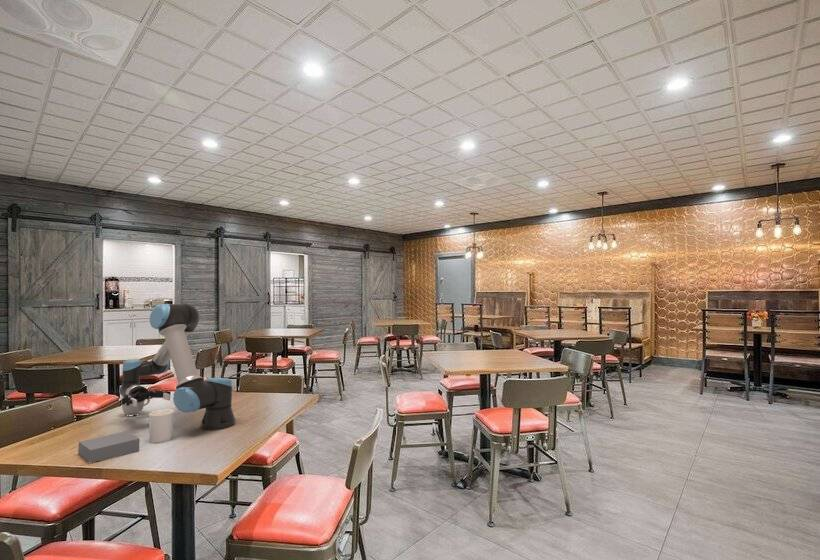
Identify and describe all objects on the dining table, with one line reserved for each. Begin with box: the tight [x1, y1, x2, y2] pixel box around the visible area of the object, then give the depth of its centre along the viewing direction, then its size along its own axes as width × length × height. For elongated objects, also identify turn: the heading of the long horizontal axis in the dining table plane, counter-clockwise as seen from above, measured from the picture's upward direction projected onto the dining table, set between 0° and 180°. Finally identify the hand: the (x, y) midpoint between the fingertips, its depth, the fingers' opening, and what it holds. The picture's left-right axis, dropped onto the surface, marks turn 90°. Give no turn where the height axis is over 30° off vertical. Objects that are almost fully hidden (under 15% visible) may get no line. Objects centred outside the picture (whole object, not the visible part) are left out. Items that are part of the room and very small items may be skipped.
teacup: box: [119, 396, 151, 417], centre depth 215 cm, size 12×15×10 cm
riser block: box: [77, 431, 140, 464], centre depth 159 cm, size 16×16×5 cm
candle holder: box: [148, 408, 175, 444], centre depth 174 cm, size 10×10×12 cm
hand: (153, 400), depth 181 cm, fingers open, 13 cm apart
